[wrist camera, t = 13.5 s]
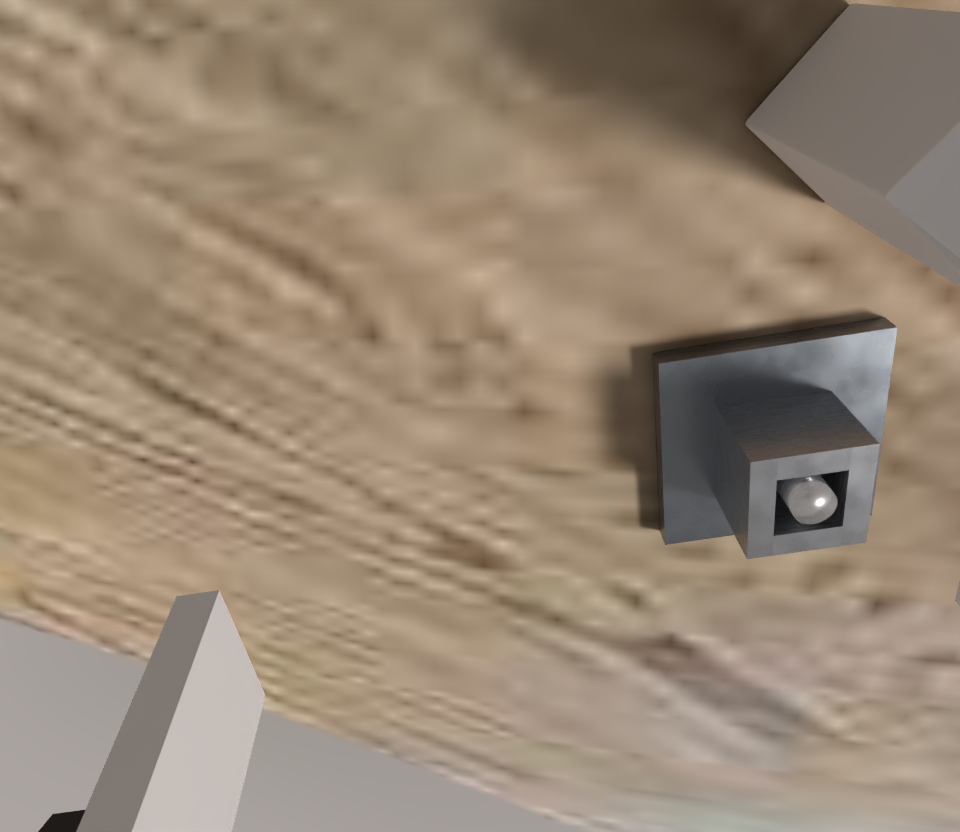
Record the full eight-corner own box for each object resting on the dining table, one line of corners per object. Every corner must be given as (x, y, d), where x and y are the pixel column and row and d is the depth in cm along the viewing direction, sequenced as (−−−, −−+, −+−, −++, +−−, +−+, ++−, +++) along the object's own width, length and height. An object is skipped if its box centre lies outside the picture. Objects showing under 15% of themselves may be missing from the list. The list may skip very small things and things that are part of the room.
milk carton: (741, 123, 40) (947, 230, 24) (849, 1, 37) (1166, 27, 21) (827, 205, 42) (1068, 354, 26) (935, 97, 40) (1278, 186, 23)
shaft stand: (652, 352, 47) (688, 419, 40) (884, 317, 46) (962, 378, 39) (659, 530, 54) (691, 613, 47) (861, 501, 53) (923, 581, 46)
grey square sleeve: (716, 408, 47) (750, 462, 42) (831, 391, 47) (879, 443, 42) (716, 498, 51) (747, 559, 45) (822, 483, 50) (866, 542, 45)
